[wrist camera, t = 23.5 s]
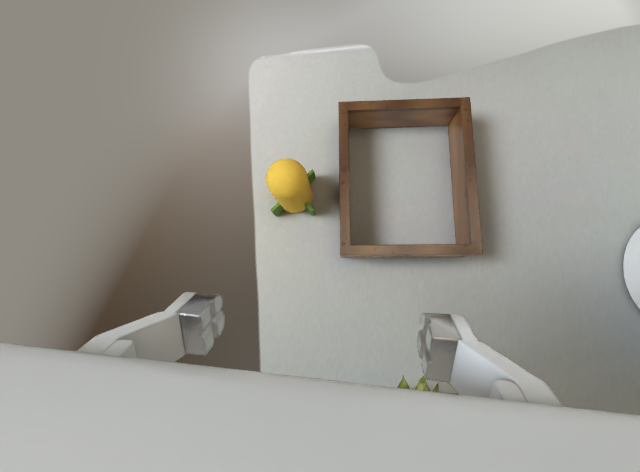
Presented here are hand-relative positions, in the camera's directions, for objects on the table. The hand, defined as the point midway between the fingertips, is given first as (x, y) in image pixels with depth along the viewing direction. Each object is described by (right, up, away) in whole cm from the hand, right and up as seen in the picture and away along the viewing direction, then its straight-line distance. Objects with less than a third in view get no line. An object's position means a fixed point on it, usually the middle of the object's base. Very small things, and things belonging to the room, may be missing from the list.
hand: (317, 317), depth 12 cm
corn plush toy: (-3, +8, +26) cm, 28 cm away
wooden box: (+10, +9, +26) cm, 29 cm away
